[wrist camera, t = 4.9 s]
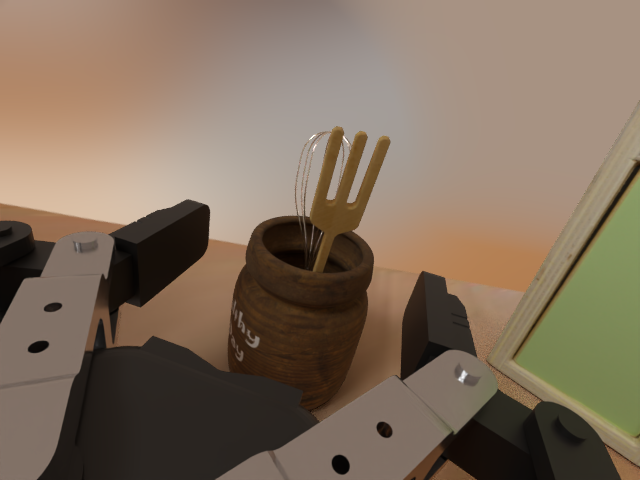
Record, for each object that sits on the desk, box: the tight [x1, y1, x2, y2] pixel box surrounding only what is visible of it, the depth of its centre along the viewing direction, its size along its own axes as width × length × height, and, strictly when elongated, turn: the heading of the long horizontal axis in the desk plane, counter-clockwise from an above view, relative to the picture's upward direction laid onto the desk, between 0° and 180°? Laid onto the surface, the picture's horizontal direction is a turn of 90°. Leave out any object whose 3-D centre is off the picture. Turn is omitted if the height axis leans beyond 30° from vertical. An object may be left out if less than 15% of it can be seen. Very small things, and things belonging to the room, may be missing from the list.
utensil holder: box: [228, 126, 390, 410], centre depth 14 cm, size 6×6×12 cm
